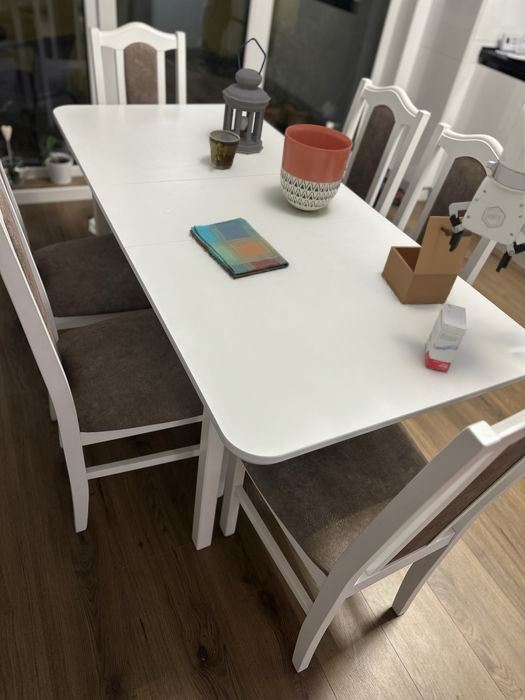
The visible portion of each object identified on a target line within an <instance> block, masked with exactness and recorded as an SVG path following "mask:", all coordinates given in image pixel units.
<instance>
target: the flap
mask: <svg viewBox="0 0 525 700" xmlns="http://www.w3.org/2000/svg"><path fill="white" fill-rule="evenodd" d="M459 218H460V221H463V218H464V216H459ZM463 231H464V232H463V235H462V237H461V239H460V241H459V244H458V246H457V248H456V249H455V250H454V251H453V252H450V251H449V249H450V247H451V245H449V242H450V240H451V237H452V235H453V233H454V231H453V226H452V224H451V222H450V216H439V215H437V216H436V215H430V216H429V218H428V220H427V225H426V229H425V232H424V236H423V239H422V243H421V246H420V247H421V250H420V253H419V257H418V260H417V264H416V267H415V271H414V274H458V275H460V273H461V270H462V266H463V264H464V262H465V258H466V255H467V252H468V249H469V245H470V244H471V240H472V237H473V234H474V232H472V231H469V230H467V229H464V230H463Z"/></svg>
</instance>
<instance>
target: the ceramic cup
mask: <svg viewBox="0 0 525 700" xmlns="http://www.w3.org/2000/svg"><path fill="white" fill-rule="evenodd" d="M208 139H209V140H208V141H209V149H210V151H209V153H210V162H211V163H210V164H211V166H213V167H214V168H215V169H218V170H222V171H226V170H230V169H231V167H232V166H233V163H234V160H235V157H236V154H237V153H236V150H237V148H238V144H239V141H240V137H239V136H238V135H237V134H235V133H233V132H230V131H225V130H223V129H216V130H212V131H210V132H209V134H208Z"/></svg>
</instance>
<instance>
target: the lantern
mask: <svg viewBox="0 0 525 700" xmlns="http://www.w3.org/2000/svg"><path fill="white" fill-rule="evenodd" d="M251 41H254V42H255V44H256V45H257V47H258V48H259V49H260V51H261V52H262V55H263V61H262V63H261V67H260V69H259V71H257V70H255V69H253V68H242V67H241V58H240V51H241V49H242V48H243V47H244V46H246V45H248V43H250V42H251ZM236 53H237V66H238V70H237V72H235V77H234V78H235V81H236V83H232V84H230V85H229V86H227V87H226V88H224V89H223V90H222V91H221V93H222V94H223V96H222V98H223V100H224V101H225V102H224V113H223V121H222V130H225V131H230V132H233V133H235V134H237V135H238V136H239V137H240V141H239V144H238V148H237V150H236V153H235V154H239V155H240V154H241V155H253V154H259V153H260V154H261V151H262V150H263V149H264V146H263V140H262V132H263V128H264V127H263V126H264V121H265V112H266V108H267V107H268V106H269V105H270V102H271V99H272V97H270V96H269V94H268V93H267V92H266V91H265V90H264V89H263V88H262V87H260V85H261V84H262V82H263V76H262V74H261V73H262V72H263V69H264V65H265V62H266V61H267V53H266V52H265V50H264V49H263V47H262V46H261V44H260V43H259V41H258V39H257V38H256V37H250V39H248V40H247V41H246V42H245V43H243V44H242V45H240V46H239V47H238V48H237V51H236ZM234 111H235V114H234ZM243 112H245V113H246V114H245V115H243ZM233 120H234V123H233Z"/></svg>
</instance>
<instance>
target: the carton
mask: <svg viewBox="0 0 525 700" xmlns="http://www.w3.org/2000/svg"><path fill="white" fill-rule="evenodd" d="M420 250H421V246H417V245H416V246H411V245H410V246H409V245H407V246H405V245H403V246H402V245H401V246H399V245H392V246H390V249H389V252H388V255H387V258H386V261H385V263H384V267H383V270H382V273H381V276H382V277H383V279H384V280H385V281H386V283H387V284H388V286H389V287H390V289H391V290H392V291H393V293H394V294H395V296H396V297H397V299H398V300H399V302H400V303H401V304H402V305H429V304H430V305H433V304H443V303H446V302H447V300H448V298H449V296H450V294H451V291H452V290H453V287H454V285H455V282H456V280H457V279H458V276H459V274H414V271H415V267H416V264H417V260H418V257H419V253H420Z"/></svg>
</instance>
